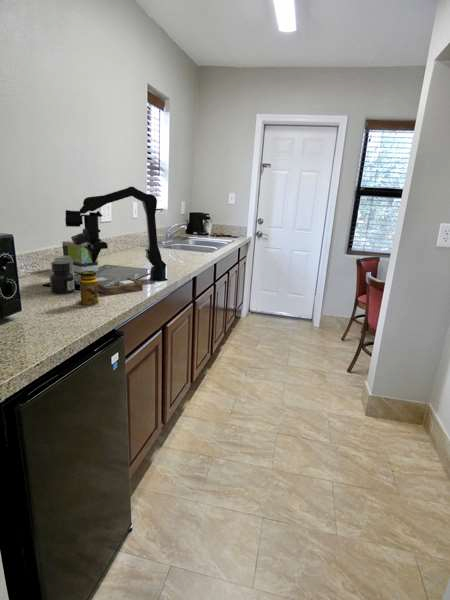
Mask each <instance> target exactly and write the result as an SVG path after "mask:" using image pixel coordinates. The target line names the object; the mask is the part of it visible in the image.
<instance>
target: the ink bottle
mask: <svg viewBox="0 0 450 600" xmlns="http://www.w3.org/2000/svg"><path fill="white" fill-rule="evenodd" d="M70 269H71V268H70V262H69V261H54V260H53V261H51V272H52V273H51V274H50V275H49V285H50V292H51V293H53V294H59V295H60V294H61V295H63V294H71V293H73V292H75V288H76V287H75V274H74V275H73V274H71V272H70V271H71V270H70Z"/></svg>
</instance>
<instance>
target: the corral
mask: <svg viewBox="0 0 450 600" xmlns="http://www.w3.org/2000/svg"><path fill="white" fill-rule="evenodd" d="M126 280H131V281H133V282H135V284H130V285H123V286H119V285H116V286H104V285H102V284H100V283H98V290H100V291H101V292H102V293H101V292H100V293H101V294H103V293H104V294H103V295H105V296H113V295H114V296H115V295H118V294H126V293H134V292H142V291H143V283H142V282H140V281H137V280H135V279H133V278H131V277H127V279H126Z"/></svg>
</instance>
